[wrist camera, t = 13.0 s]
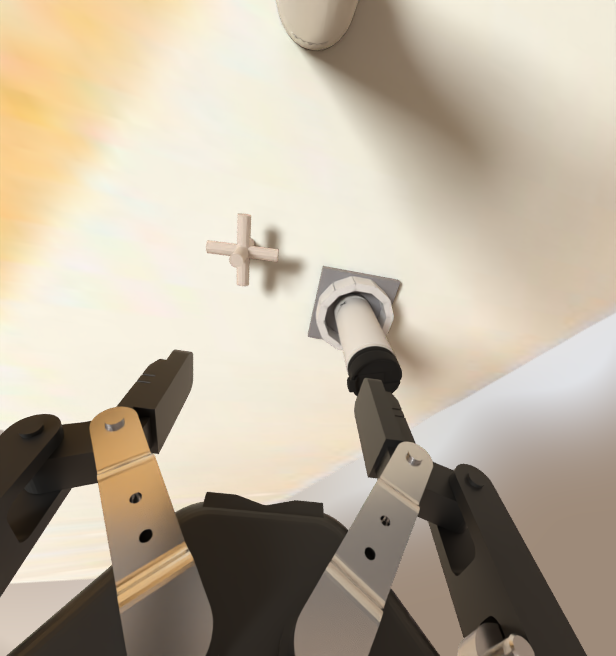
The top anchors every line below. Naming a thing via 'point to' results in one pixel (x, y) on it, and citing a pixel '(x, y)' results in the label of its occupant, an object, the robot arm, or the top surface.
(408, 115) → the top surface
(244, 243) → the pipe connector
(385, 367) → the travel mug
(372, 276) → the duct collar
